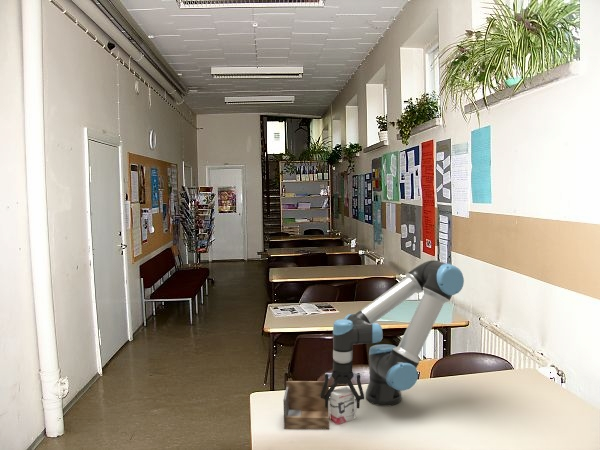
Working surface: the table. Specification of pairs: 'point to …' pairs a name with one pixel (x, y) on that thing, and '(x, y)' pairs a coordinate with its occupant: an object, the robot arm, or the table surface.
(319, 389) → the open wooden box
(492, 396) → the table surface
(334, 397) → the ink box
